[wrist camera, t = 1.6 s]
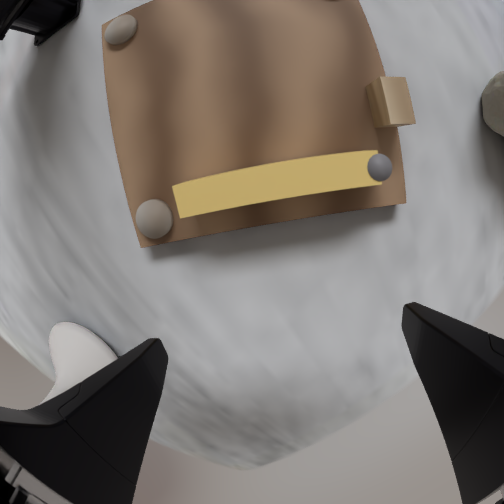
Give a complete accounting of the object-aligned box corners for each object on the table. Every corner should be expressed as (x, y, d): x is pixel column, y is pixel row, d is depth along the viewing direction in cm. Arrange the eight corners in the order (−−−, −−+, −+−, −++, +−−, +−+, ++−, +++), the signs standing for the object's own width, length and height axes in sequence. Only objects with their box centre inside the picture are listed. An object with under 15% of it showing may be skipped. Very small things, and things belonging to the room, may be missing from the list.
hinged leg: (374, 149, 16) (389, 149, 13) (378, 178, 16) (394, 183, 14) (185, 181, 17) (171, 186, 15) (192, 209, 18) (179, 218, 16)
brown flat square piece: (149, 241, 21) (123, 261, 17) (110, 30, 15) (83, 14, 11) (397, 199, 18) (424, 211, 14) (339, -22, 12) (350, -49, 8)
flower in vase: (82, 380, 30) (5, 506, 6) (45, 313, 26) (-69, 439, 3) (157, 391, 28) (86, 566, 5) (119, 313, 24) (-21, 516, 1)
